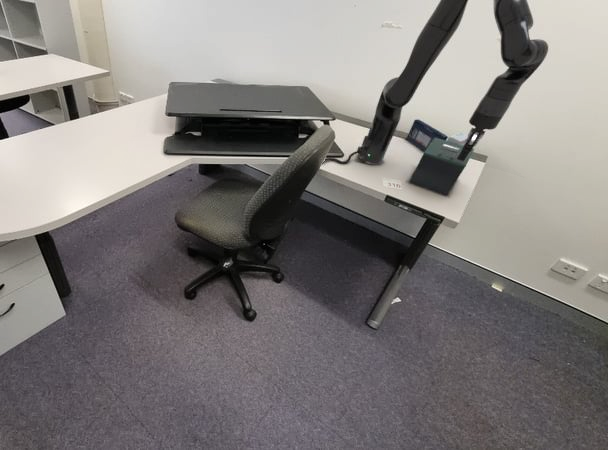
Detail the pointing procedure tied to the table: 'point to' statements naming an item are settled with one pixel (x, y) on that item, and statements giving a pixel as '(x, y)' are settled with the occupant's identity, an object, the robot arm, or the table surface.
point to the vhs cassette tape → (423, 135)
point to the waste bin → (436, 175)
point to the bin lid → (447, 152)
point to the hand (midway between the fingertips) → (460, 159)
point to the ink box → (458, 138)
